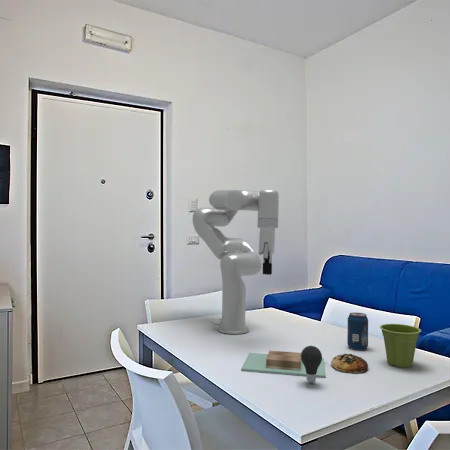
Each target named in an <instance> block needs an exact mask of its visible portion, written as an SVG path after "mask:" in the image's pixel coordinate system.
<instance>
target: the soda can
mask: <svg viewBox="0 0 450 450" xmlns="http://www.w3.org/2000/svg"><path fill="white" fill-rule="evenodd" d="M367 315H368V314H366V313H364V312H350V313H349V315H348V317H347V346H348V347H349V349H350V350H354V351H366V350H367V348H368V346H369V318H368V317H367Z"/></svg>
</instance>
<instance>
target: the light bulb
mask: <svg viewBox="0 0 450 450" xmlns="http://www.w3.org/2000/svg"><path fill="white" fill-rule="evenodd" d="M300 353H301V360H302V363H303V364H304V366H305V369H306V374H307V376H306V381H307V382H308V383H309V384H312V385H313V384H314V383H315V382H316V380H317V377H316V373H317V369H318V367H319V365H320V364H321V361H322V358H323V355H322V352H321V350H320V349H319V348H318V347H316V346H314V345H307V346H305V347H304V348H303V349H302V350H301V352H300Z"/></svg>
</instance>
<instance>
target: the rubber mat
mask: <svg viewBox="0 0 450 450" xmlns="http://www.w3.org/2000/svg"><path fill="white" fill-rule="evenodd" d="M267 356H268V353H257V352H248V354H247V357H246V359H245V360H244V362H243V365H242V366H241V370H240V371H242V372H253V373H262V374H263V373H264V374H276V375H287V376H297V377H298V376H299V377H307V374H306V369H305V366H304V364H303V363H302V360H301V371H300V370H288V369H276V368H266V359H267ZM326 376H327V373H326V364H325V358H324V357H322V361H321V364H320V365H319V367H318V369H317V373H316V378H321V379H323V378H325V379H326V378H327V377H326Z"/></svg>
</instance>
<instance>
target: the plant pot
mask: <svg viewBox="0 0 450 450" xmlns="http://www.w3.org/2000/svg"><path fill="white" fill-rule="evenodd" d="M379 328H380V330H381V333H382V336H383V341H384V348H385V354H386V360H387V363H388V364H389V365H390V366H395V367H398V368H406V367H407V368H410V367H412V366H413V364H414V358H415V354H416V353H415V352H416V347H417V341H418V339H419V335H420V333H421V332H422V329H420V328H419V327H417V326H415V325H409V324H403V323H384V324H380V325H379Z"/></svg>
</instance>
